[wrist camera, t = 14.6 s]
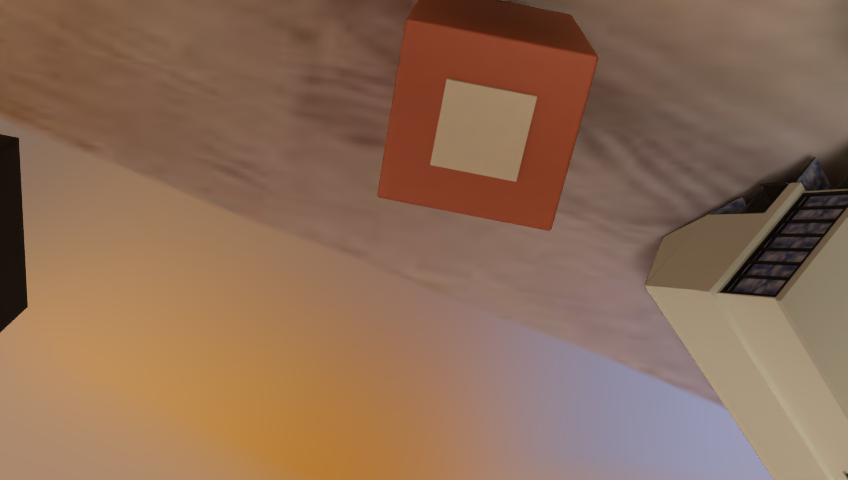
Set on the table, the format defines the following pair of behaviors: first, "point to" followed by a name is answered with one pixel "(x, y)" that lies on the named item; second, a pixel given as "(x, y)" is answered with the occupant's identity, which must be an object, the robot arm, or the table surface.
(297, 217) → the table surface
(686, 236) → the building
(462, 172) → the orange red block
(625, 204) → the table surface
